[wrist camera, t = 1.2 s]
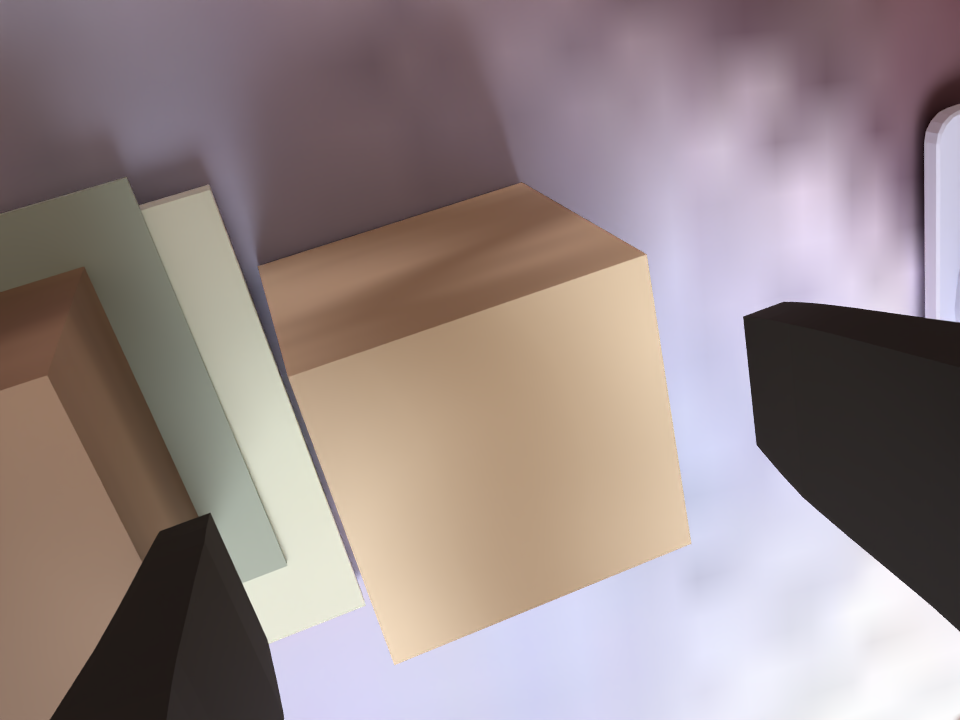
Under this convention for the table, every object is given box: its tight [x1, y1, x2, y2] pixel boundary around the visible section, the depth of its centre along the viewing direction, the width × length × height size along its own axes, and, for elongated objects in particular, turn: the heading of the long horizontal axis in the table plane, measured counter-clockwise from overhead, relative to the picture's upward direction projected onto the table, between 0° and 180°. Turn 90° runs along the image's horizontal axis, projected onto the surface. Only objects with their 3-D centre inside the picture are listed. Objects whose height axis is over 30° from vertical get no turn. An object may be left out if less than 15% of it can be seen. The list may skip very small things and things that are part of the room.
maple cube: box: [258, 182, 691, 665], centre depth 13 cm, size 4×4×4 cm
